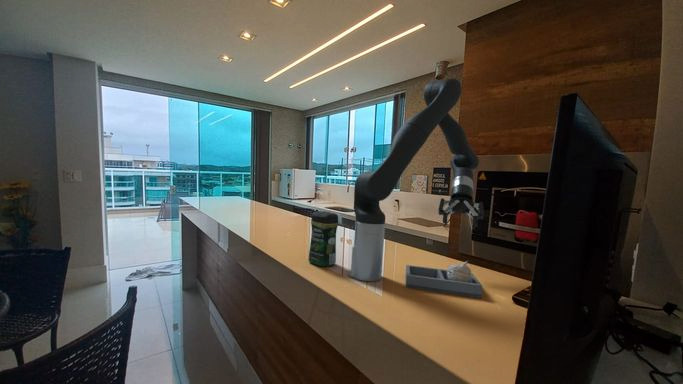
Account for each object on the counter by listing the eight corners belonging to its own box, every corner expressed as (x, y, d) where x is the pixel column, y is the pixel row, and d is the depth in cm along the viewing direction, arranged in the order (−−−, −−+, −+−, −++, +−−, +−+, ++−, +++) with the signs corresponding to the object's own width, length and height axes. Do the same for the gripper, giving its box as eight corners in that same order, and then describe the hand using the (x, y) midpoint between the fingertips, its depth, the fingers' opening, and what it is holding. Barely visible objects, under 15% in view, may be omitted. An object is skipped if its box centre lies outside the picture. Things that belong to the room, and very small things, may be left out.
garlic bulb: (447, 286, 76) (449, 259, 76) (444, 279, 82) (446, 254, 82) (472, 290, 74) (474, 262, 74) (467, 282, 80) (469, 256, 80)
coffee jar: (304, 262, 94) (307, 210, 94) (320, 258, 100) (323, 209, 100) (323, 269, 88) (326, 213, 87) (339, 264, 94) (342, 212, 93)
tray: (405, 287, 76) (406, 275, 76) (405, 275, 87) (406, 264, 87) (481, 298, 72) (482, 285, 71) (471, 284, 82) (472, 273, 82)
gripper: (441, 182, 99) (437, 215, 89) (485, 185, 93) (485, 221, 83) (441, 195, 104) (436, 229, 94) (482, 199, 98) (481, 235, 88)
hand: (459, 225), depth 88 cm, fingers open, 8 cm apart
